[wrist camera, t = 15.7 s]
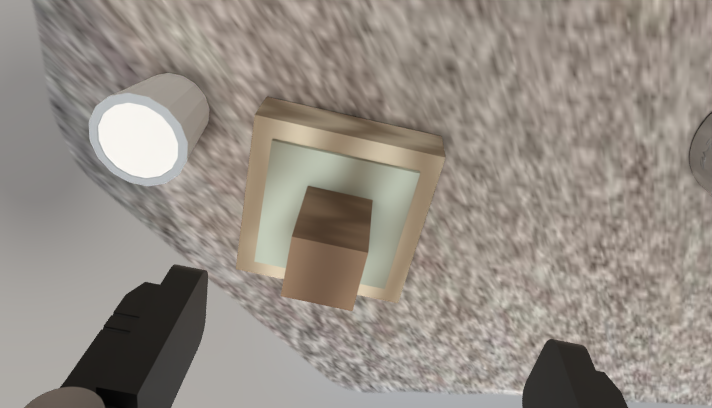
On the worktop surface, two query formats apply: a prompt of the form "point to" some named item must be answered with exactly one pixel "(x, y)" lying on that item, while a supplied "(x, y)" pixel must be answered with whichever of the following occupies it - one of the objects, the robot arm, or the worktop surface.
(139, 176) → the white cup
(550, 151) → the worktop surface
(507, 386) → the worktop surface
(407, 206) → the plinth
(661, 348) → the worktop surface
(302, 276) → the walnut block
